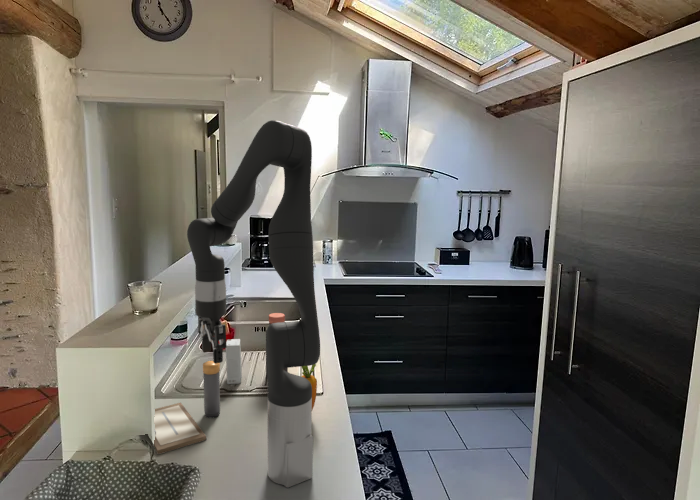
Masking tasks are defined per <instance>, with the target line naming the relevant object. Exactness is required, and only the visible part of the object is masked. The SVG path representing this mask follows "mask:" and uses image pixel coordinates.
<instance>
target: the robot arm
mask: <svg viewBox="0 0 700 500" xmlns="http://www.w3.org/2000/svg"><path fill="white" fill-rule="evenodd" d="M312 150H313V148H312V140H311V137H310V135H309V134H308V132H307V131H306V130H304V129H303V128H301V127H299V126H298V127H297V126H296V125H292V124H289V123H285V122H283V121H280V120H274V119H273V120H268V121H266V122H265V123H264V124H263V125H261V127H260V128H259V129H258V130H257V132H256V134H255V136H254V138H252V141H251V143H250V145H249V147H248V148H247V150H246V152H245V154H244V156H243V158H242V160H241V162H240V164H239V166H238V168H237V170H236V171H235V173H234V174H233V177H232V179H231V180H230V182H229V183H228V184H227V186H226V187H225V188H224V190H222V192H221V193H220V195H219V196H218V197H216V200H215V201H214V202H213V204H212V206H211V208H210V213H211V214H210V215H211V216H212V217H204V218H195V219H193V220H191V221H190V223H189V225H188V226H187V232H186V237H187V241H188V244H189V247H190V251H191V254H192V259H193V261H194V264H195V265H194V266H195V285H194V299H195V300H194V301H195V302H194V303H195V315H196V316H197V321H198V322H197V328H198V330H197V332H198V334H199V335H200V338H201V351H202V352H203V353H204V354H205V353H210V352H211V351H212V361H213V362H214V363H215V364H217V363H220V364H221V363H223V362H224V358H223V357H224V356H223V349H226V346H227V345H226V342H227V332H226V330H227V328H226V327H227V326H226V324H225V323H224V324H222V322H221V317H223V316H225V315H226V313H227V285H226V277H225V270H226V269H225V260H224V258H223V256H221V255H219V254H213V253H212V250H211V247H214V246H219V245H223V244H225V243H227V242H228V241H229V240H230V239H231V237H232V236H233V233H234V231H235V229H236V226H237V224H238V221H240V219H241V218H242V217H243V216H244V215H245V214H246V213H247V211H248V210H249V209H250V208H251V207H252V205H253V202H254V200H255V196H256V188H257V180H258V177H259V175H260V174H261V173H262V172H263V171H264V170H265V169H266V168H267V167H268V166H270V165H271V166H275V167H279V168H283V175H284V183H283V184H284V185H283V186H284V187H283V188H284V189H283V195H282V198H281V200H280V202H279V204H278V205H277V207H276V209H275V211H274V213H273V215H272V217H271V219H270V222H269V226H268V234H267V235H268V252H269V257H268V258H269V260H270V263H271V265H272V267H273V268H274V270H275V271H276V273H277V275H278V276H279V277H280V279H281V280H282V281H283V283H284V284H285V285H286V287H287V289H288V290H289V291H290V293H291V294H292V297H293V298H294V300H295V302H296V304H297V307H298V310H299V315H300V320H299V321H298V320H295V321H294V320H293V321H285V322H279V323H272V324H269V325H268V326H267V329H266V330H267V332H266V331H265V356H266V355H267V377H268V379H267V476H268V479H270V480H271V481H272V482H273V483H276V484H279V485H283V486H284V487H285V488H291V487H293V486H296V485H298V484H300V483H304V482H306V481H308V480H310V479H313V478H314V477H313V473H314V472H313V471H314V469H313V467H314V465H313V463H314V436H313V435H312V418H313V417H312V415H313V413H312V412H313V410H312V385H311V383H310V382H309V381H308V380H307V379H306V378H304V377H301V376H302V375H301V376H300V375H296V374H294V373H290V372H286V371H284V368H288V369H289V368H298V367H301V366H307V367H308V366H313V365H314V364H316V365H317V363H318V362H319V359H320V355H321V339H320V338H321V336H320V328H319V320H318V310H317V303H316V302H317V301H316V293H315V292H316V291H315V276H314V275H315V274H314V273H315V272H314V271H315V270H314V267H315V266H314V243H313V242H314V239H313V227H312V212H311V211H312V209H311V208H312V205H311V203H312V202H311V184H312V183H311V182H312V181H311V180H312V163H313V162H312V160H313V156H312V155H313V153H312V152H313V151H312Z"/></svg>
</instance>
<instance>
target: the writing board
mask: <svg viewBox="0 0 700 500" xmlns="http://www.w3.org/2000/svg"><path fill="white" fill-rule="evenodd" d="M154 409H155V415H154V416H155V417H154V424H155V429H154V432H155V440H154V446H153V448H154V447H155V448H154V450H155V451H156V453H157V455H161V454H163V453H168V452H170V451H173V450H177V449H179V448H183V447H186V446H187V447H188V446H190V445H193V444H194V445H195V444H197V443H199V442H203V441H206V440H207V436H206V435H207V434H205V433H204V431H203V430H202V428H201V427H200V426H199V425H198V424H197V422H196V421H195V419H194V418H193V417H192V416H191V414H190V412H188V410H187V409H186V407H185V406H184V405H183V404H182V402H177V403H174V404H169V405H165V406H161V407H158V408H154Z"/></svg>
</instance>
